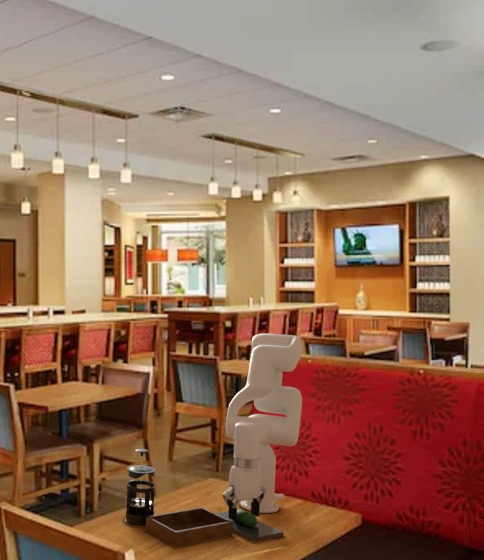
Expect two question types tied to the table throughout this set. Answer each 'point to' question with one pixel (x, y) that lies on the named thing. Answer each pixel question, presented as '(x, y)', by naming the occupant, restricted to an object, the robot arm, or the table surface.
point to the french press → (140, 506)
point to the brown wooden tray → (189, 526)
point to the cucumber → (246, 518)
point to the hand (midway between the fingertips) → (243, 517)
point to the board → (254, 530)
